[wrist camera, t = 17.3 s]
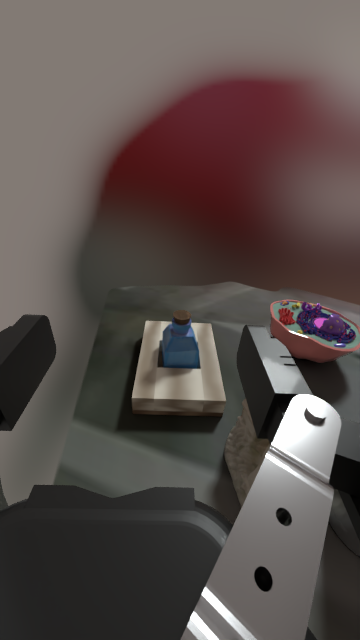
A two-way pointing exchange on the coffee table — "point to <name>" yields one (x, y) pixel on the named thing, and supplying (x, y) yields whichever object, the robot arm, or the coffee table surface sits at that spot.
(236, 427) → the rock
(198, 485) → the coffee table surface
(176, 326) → the perfume bottle
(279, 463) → the robot arm
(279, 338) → the cell model
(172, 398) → the socket plinth
